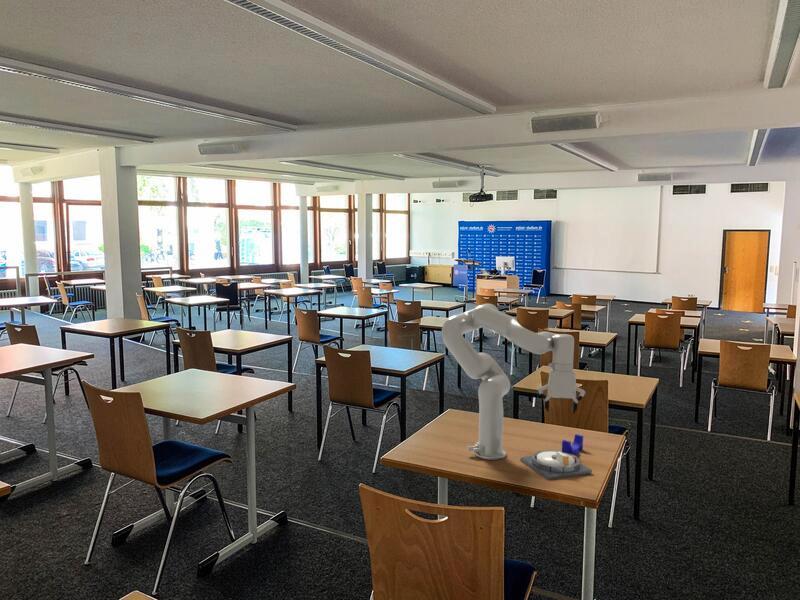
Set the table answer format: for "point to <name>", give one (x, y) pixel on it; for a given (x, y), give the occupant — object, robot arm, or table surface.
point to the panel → (556, 474)
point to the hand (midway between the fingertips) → (560, 411)
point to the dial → (555, 458)
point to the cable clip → (573, 445)
